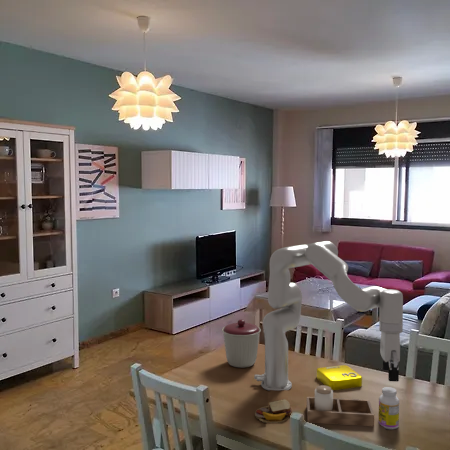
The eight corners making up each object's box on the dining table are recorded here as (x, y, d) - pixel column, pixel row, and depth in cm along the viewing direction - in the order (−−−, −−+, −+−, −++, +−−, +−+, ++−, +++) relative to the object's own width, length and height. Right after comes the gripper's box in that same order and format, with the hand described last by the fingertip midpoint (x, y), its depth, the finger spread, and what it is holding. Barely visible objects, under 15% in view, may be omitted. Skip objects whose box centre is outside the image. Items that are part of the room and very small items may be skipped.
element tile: (346, 373, 214) (346, 363, 214) (363, 387, 200) (364, 376, 199) (314, 377, 211) (314, 366, 210) (330, 391, 196) (330, 380, 196)
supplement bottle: (375, 421, 170) (376, 385, 169) (393, 420, 171) (394, 385, 170) (383, 430, 164) (383, 394, 163) (402, 429, 164) (402, 393, 163)
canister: (220, 357, 234) (219, 315, 232) (257, 356, 236) (257, 313, 234) (224, 372, 216) (224, 326, 214) (264, 370, 218) (264, 324, 216)
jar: (314, 419, 171) (315, 391, 170) (314, 410, 177) (314, 384, 176) (333, 420, 170) (333, 392, 169) (331, 411, 176) (332, 385, 175)
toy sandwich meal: (253, 409, 181) (253, 396, 180) (290, 409, 181) (290, 396, 180) (255, 425, 168) (255, 412, 168) (294, 425, 168) (294, 412, 168)
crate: (307, 424, 168) (307, 411, 168) (306, 409, 180) (306, 396, 179) (374, 428, 165) (374, 414, 165) (368, 412, 177) (368, 400, 176)
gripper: (375, 319, 173) (374, 366, 175) (384, 333, 156) (383, 385, 158) (396, 319, 172) (396, 366, 174) (408, 334, 155) (407, 386, 157)
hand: (390, 375), depth 166 cm, fingers open, 9 cm apart
